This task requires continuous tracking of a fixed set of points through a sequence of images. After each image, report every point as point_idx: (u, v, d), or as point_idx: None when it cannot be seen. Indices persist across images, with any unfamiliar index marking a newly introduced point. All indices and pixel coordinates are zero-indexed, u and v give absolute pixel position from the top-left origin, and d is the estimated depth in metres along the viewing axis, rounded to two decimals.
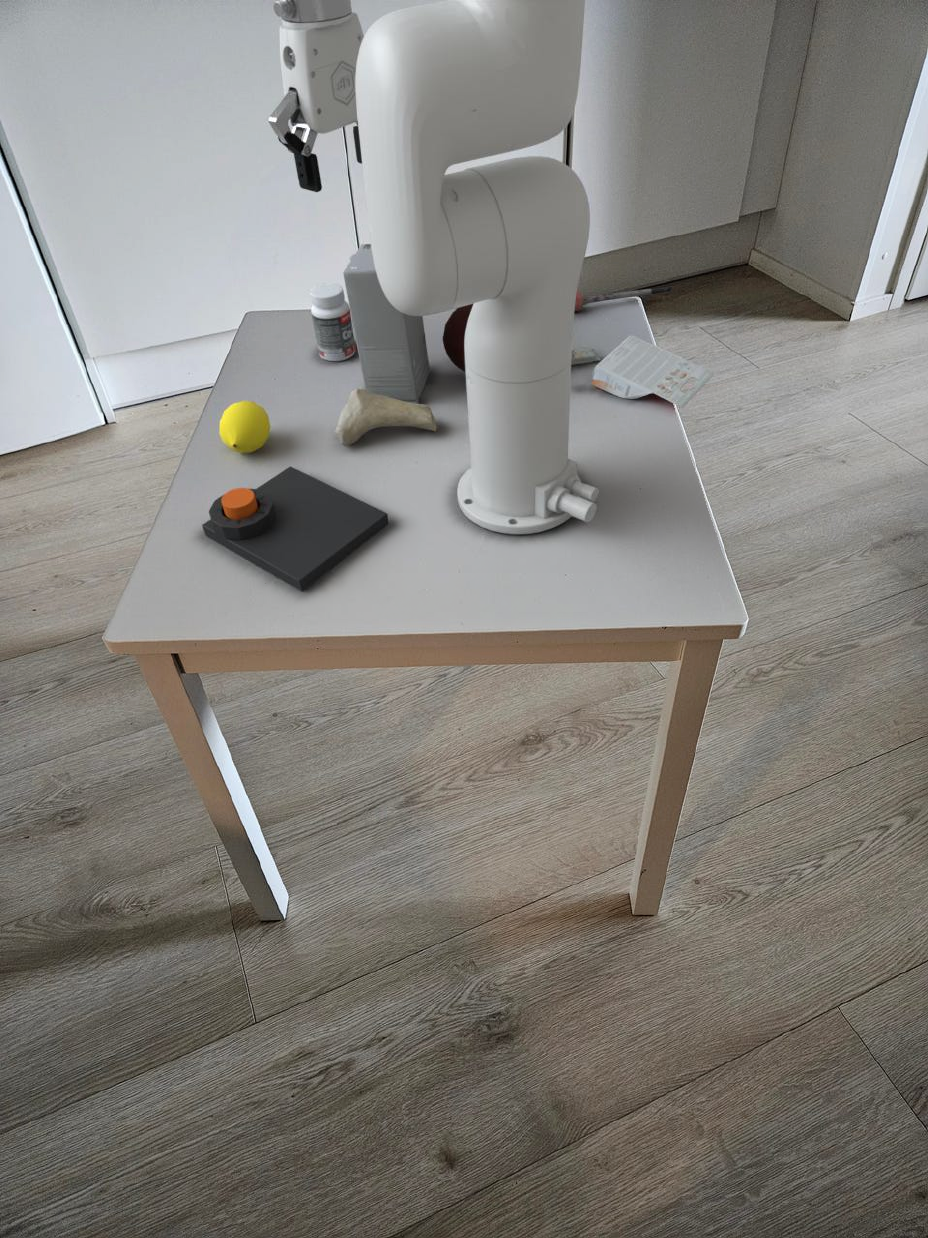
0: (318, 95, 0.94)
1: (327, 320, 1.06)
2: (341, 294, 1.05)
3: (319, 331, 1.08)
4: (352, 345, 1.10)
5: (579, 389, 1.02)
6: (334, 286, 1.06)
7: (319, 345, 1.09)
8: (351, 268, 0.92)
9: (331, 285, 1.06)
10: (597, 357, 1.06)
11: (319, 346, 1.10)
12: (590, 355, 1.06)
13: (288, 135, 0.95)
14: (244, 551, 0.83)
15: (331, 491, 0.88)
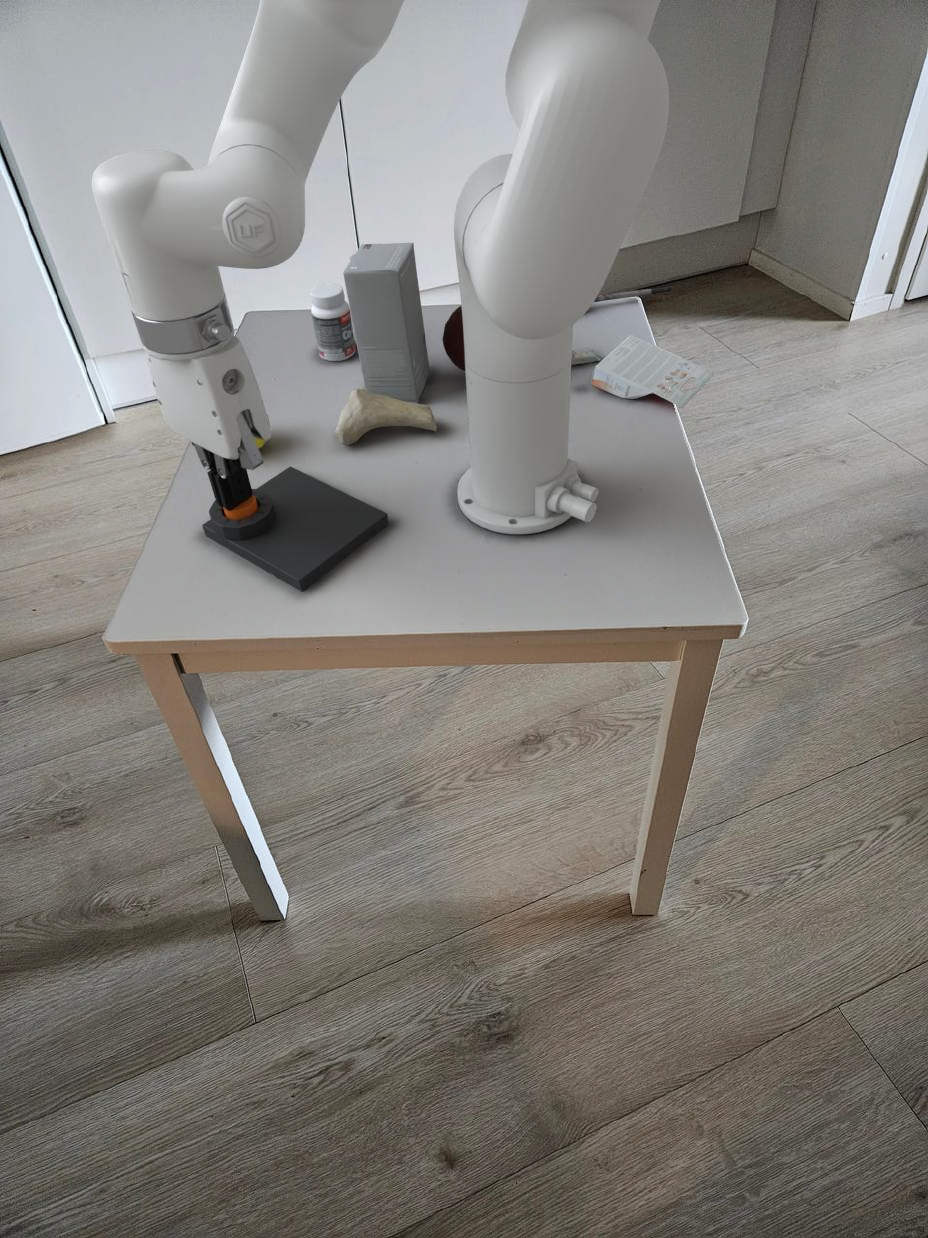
0: None
1: (327, 320, 1.06)
2: (341, 294, 1.05)
3: (319, 331, 1.08)
4: (352, 345, 1.10)
5: (579, 389, 1.02)
6: (334, 286, 1.06)
7: (319, 345, 1.09)
8: (351, 268, 0.92)
9: (331, 285, 1.06)
10: (597, 357, 1.06)
11: (319, 346, 1.10)
12: (590, 355, 1.06)
13: None
14: (244, 551, 0.83)
15: (331, 491, 0.88)
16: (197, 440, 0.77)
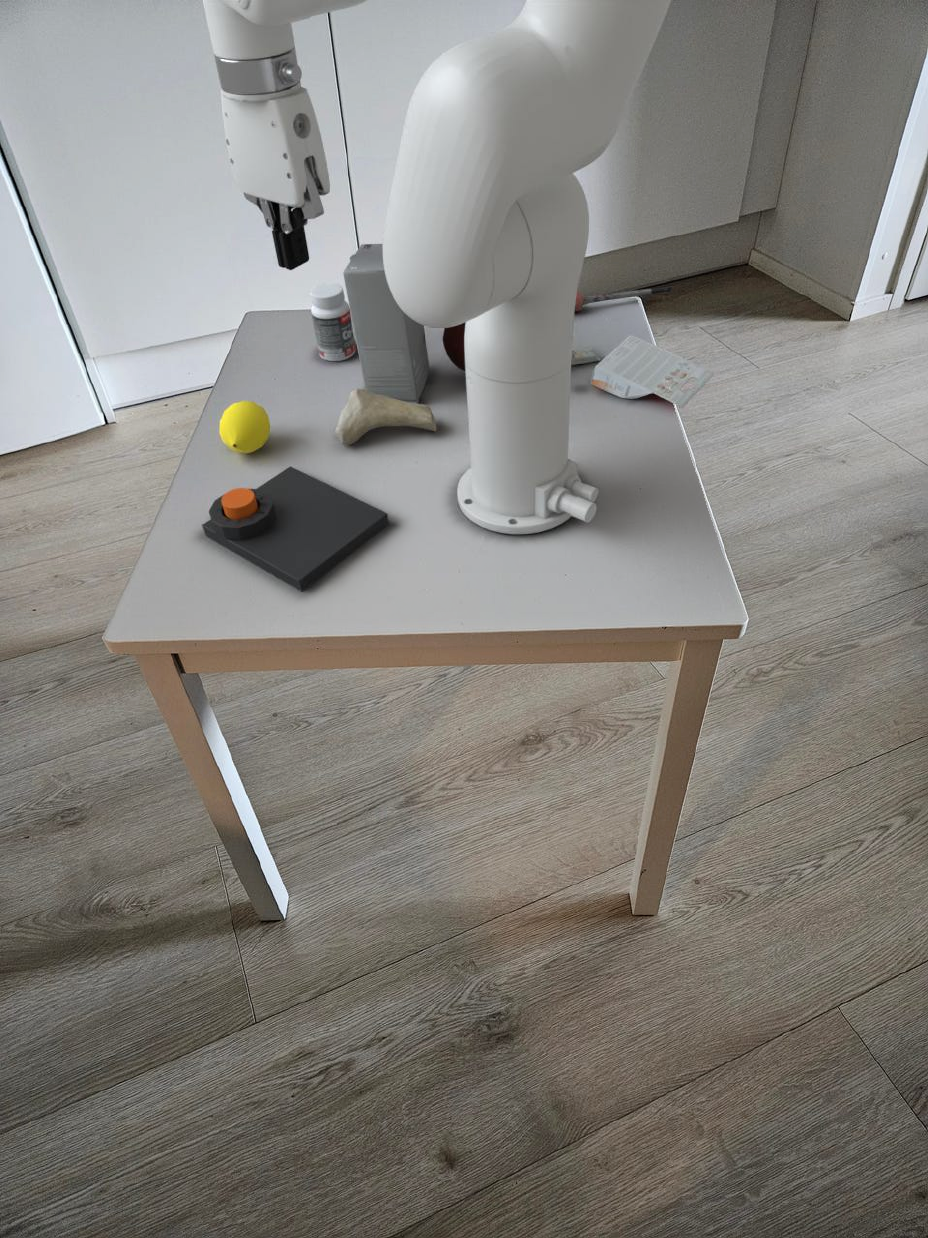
0: None
1: (327, 320, 1.06)
2: (341, 294, 1.05)
3: (319, 331, 1.08)
4: (352, 345, 1.10)
5: (579, 389, 1.02)
6: (334, 286, 1.06)
7: (319, 345, 1.09)
8: (351, 268, 0.92)
9: (331, 285, 1.06)
10: (597, 357, 1.06)
11: (319, 346, 1.10)
12: (590, 355, 1.06)
13: None
14: (244, 551, 0.83)
15: (331, 491, 0.88)
16: (266, 193, 0.88)
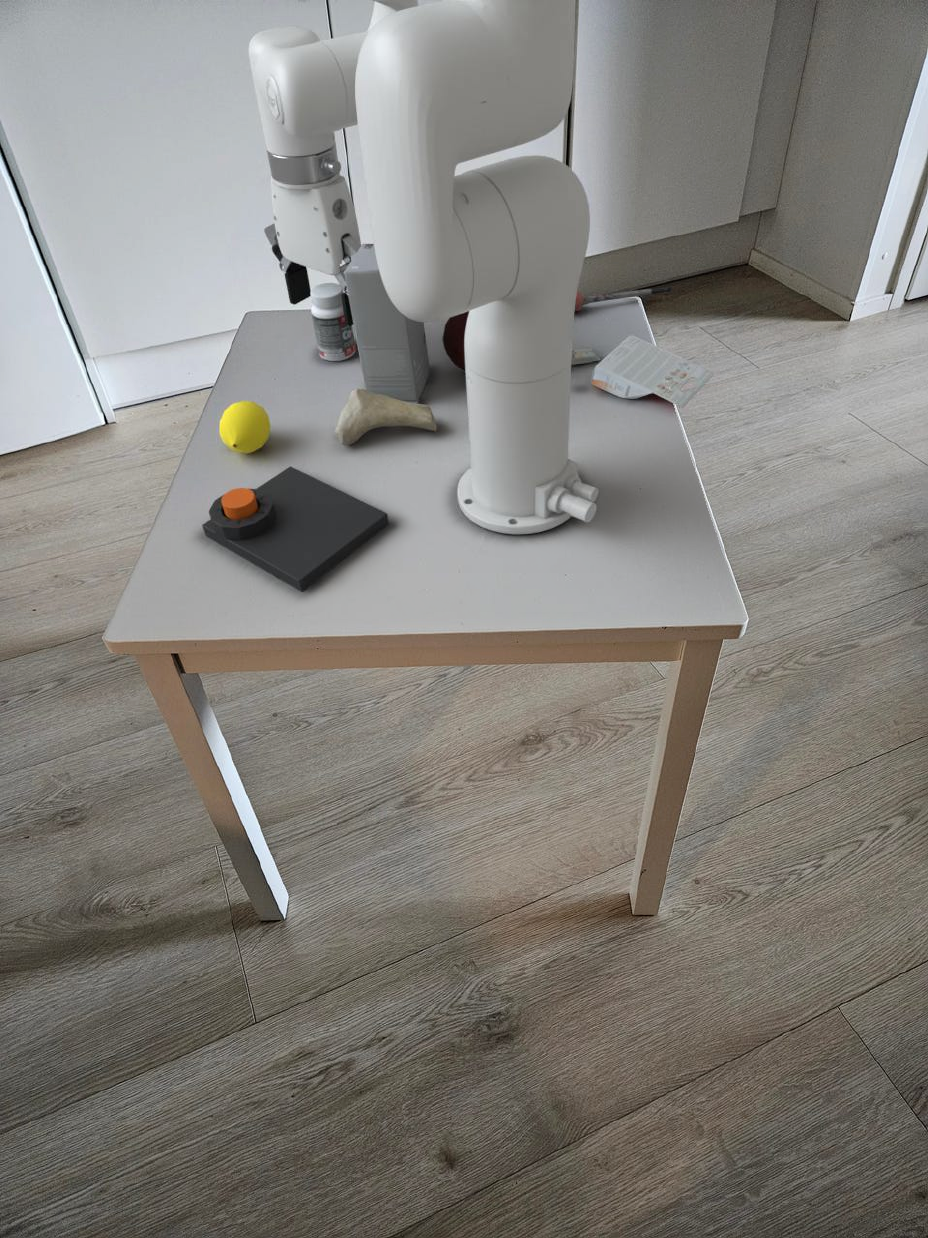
0: None
1: (327, 319, 1.06)
2: None
3: (319, 331, 1.08)
4: (352, 345, 1.10)
5: None
6: (334, 286, 1.06)
7: (319, 345, 1.09)
8: (352, 267, 0.92)
9: (331, 285, 1.06)
10: (597, 357, 1.06)
11: (319, 346, 1.10)
12: (590, 355, 1.06)
13: None
14: (244, 551, 0.83)
15: (331, 491, 0.88)
16: (307, 262, 1.02)
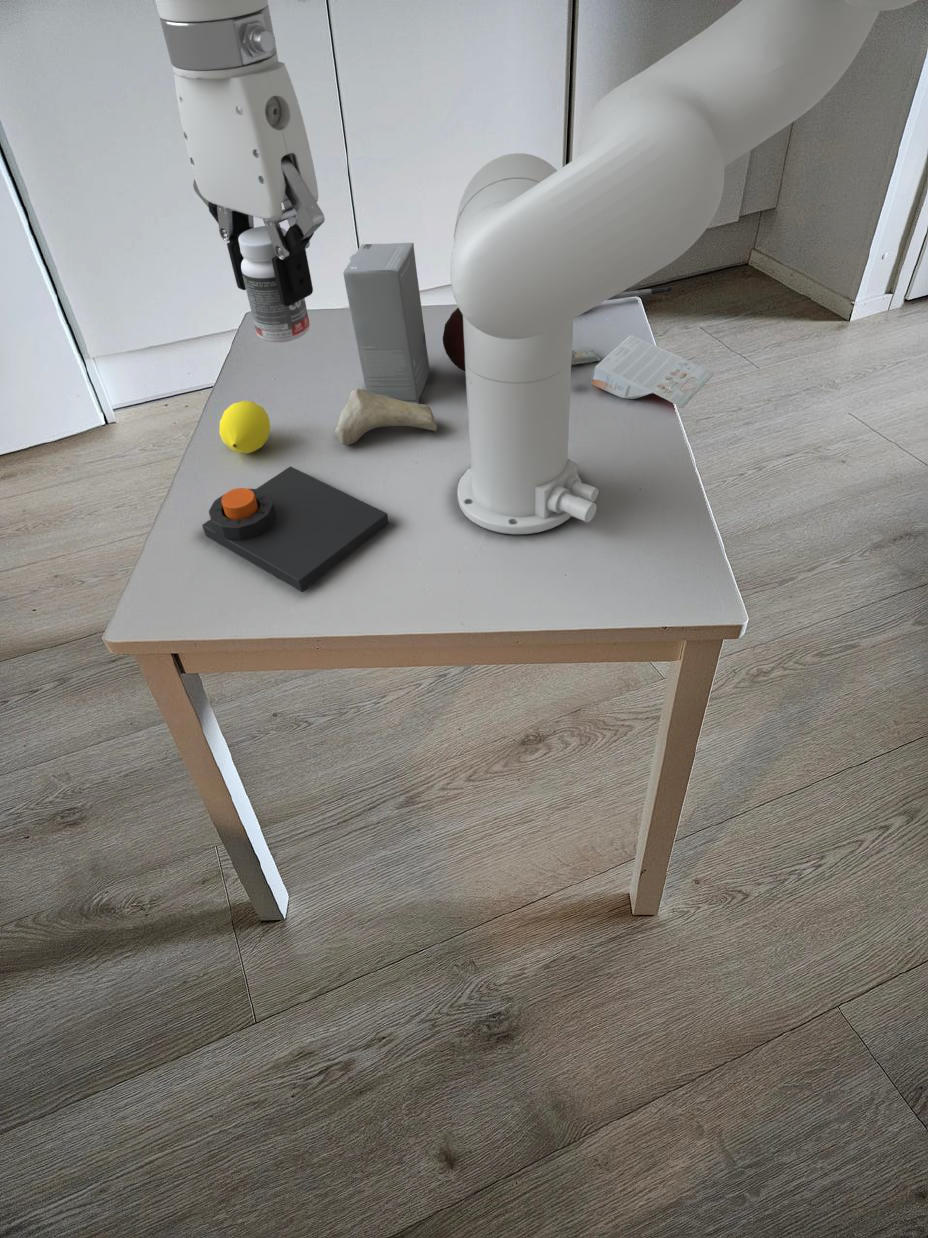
0: None
1: (264, 280, 0.71)
2: None
3: (253, 297, 0.73)
4: (303, 319, 0.75)
5: (579, 389, 1.02)
6: None
7: (255, 319, 0.75)
8: (351, 268, 0.92)
9: None
10: (597, 357, 1.06)
11: (255, 320, 0.75)
12: (590, 355, 1.06)
13: None
14: (244, 551, 0.83)
15: (331, 491, 0.88)
16: (234, 202, 0.68)
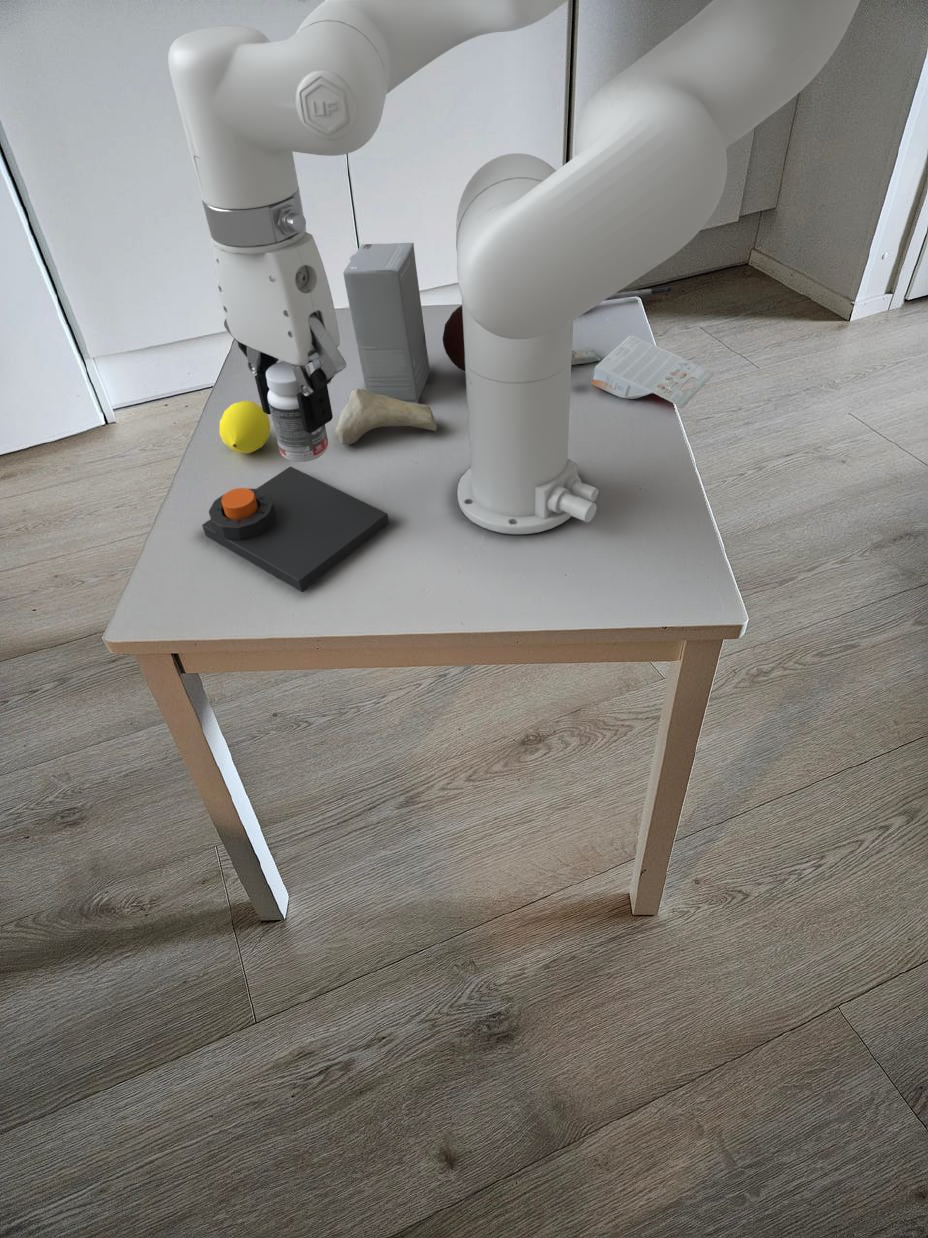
0: None
1: (289, 411, 0.79)
2: None
3: (278, 424, 0.80)
4: (323, 441, 0.82)
5: (579, 389, 1.02)
6: None
7: (279, 441, 0.82)
8: (351, 268, 0.92)
9: None
10: (597, 357, 1.06)
11: (279, 442, 0.82)
12: (590, 355, 1.06)
13: None
14: (244, 551, 0.83)
15: (331, 491, 0.88)
16: (264, 347, 0.75)
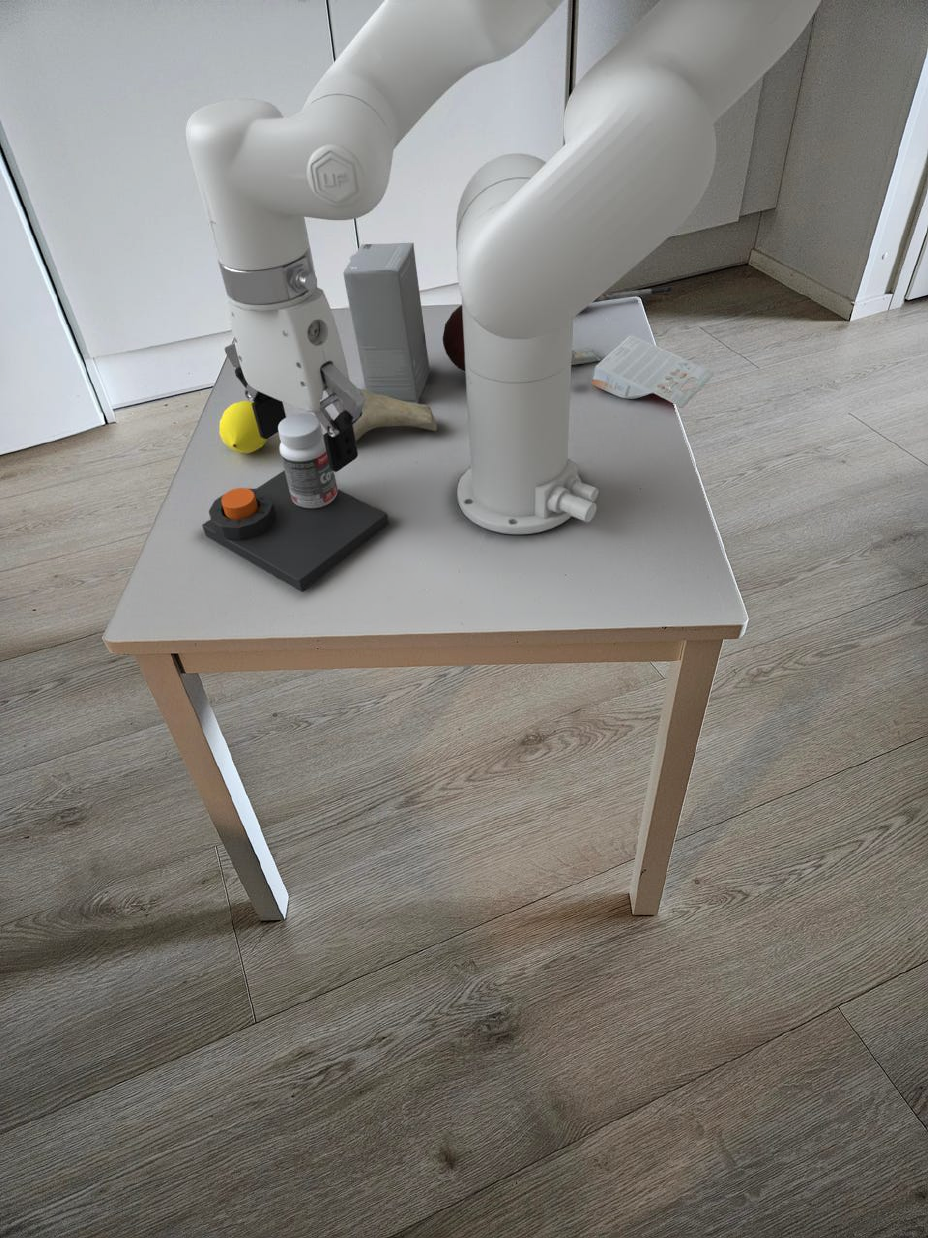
0: None
1: (300, 462, 0.83)
2: (317, 431, 0.82)
3: (290, 474, 0.84)
4: (332, 489, 0.86)
5: None
6: (309, 419, 0.83)
7: (291, 489, 0.86)
8: (351, 268, 0.92)
9: (305, 417, 0.83)
10: (597, 357, 1.06)
11: (291, 490, 0.86)
12: (590, 355, 1.06)
13: None
14: (244, 551, 0.83)
15: None
16: (278, 395, 0.78)
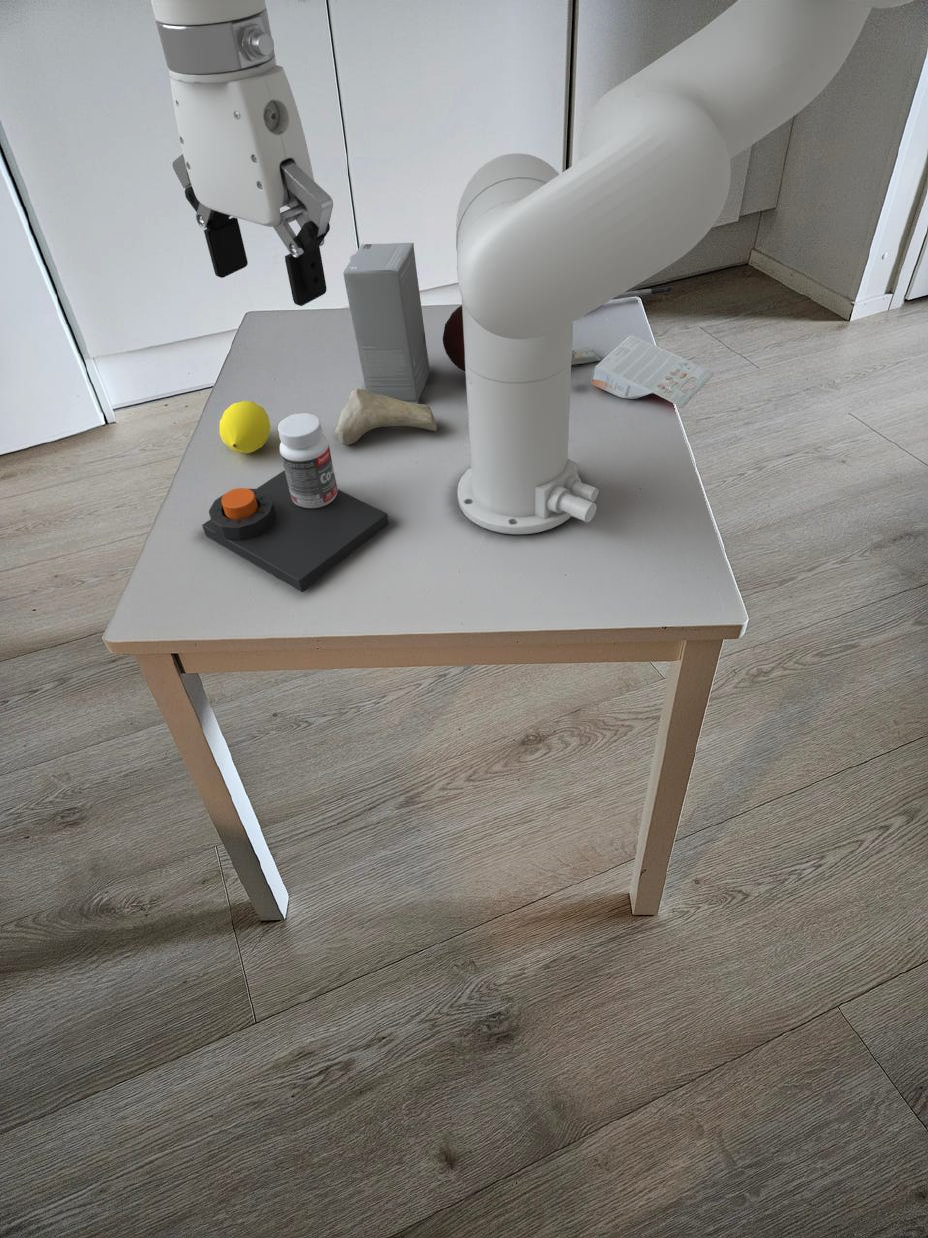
0: None
1: (300, 462, 0.83)
2: (317, 430, 0.82)
3: (290, 474, 0.84)
4: (332, 488, 0.86)
5: (579, 389, 1.02)
6: (309, 419, 0.83)
7: (291, 489, 0.86)
8: (351, 268, 0.92)
9: (305, 417, 0.83)
10: (597, 357, 1.06)
11: (291, 490, 0.86)
12: (590, 355, 1.06)
13: None
14: (244, 551, 0.83)
15: None
16: (232, 207, 0.67)
